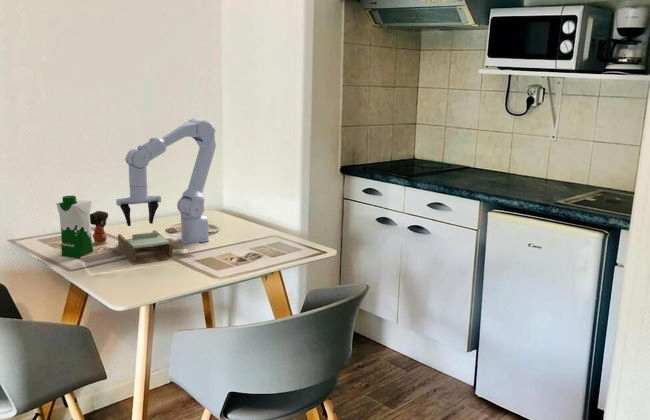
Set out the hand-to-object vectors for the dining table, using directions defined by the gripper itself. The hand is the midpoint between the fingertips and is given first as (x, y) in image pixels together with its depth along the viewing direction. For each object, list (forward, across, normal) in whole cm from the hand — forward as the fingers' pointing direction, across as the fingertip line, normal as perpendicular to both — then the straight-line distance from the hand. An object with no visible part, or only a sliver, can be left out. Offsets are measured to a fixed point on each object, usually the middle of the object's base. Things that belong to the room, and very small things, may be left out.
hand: (140, 224), depth 203 cm
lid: (+4, 0, +9) cm, 10 cm away
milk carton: (+9, +20, -3) cm, 22 cm away
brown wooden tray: (+9, -3, +5) cm, 11 cm away
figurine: (+9, +11, -12) cm, 19 cm away
